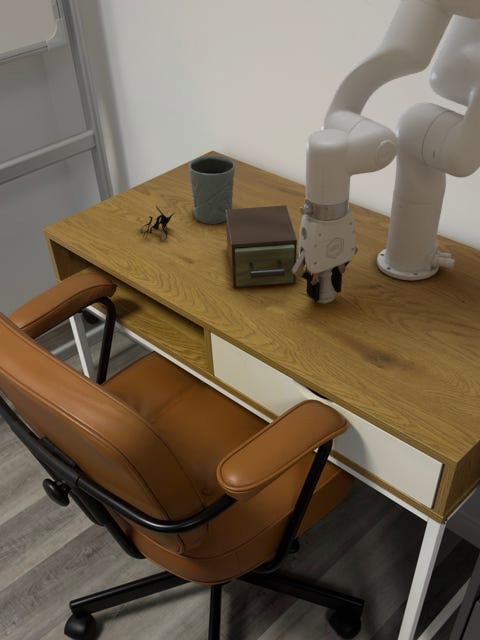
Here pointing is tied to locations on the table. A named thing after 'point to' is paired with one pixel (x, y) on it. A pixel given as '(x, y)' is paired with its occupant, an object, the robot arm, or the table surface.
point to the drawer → (264, 265)
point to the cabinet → (258, 231)
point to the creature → (163, 221)
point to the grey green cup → (212, 187)
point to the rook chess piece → (326, 287)
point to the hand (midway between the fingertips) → (324, 292)
